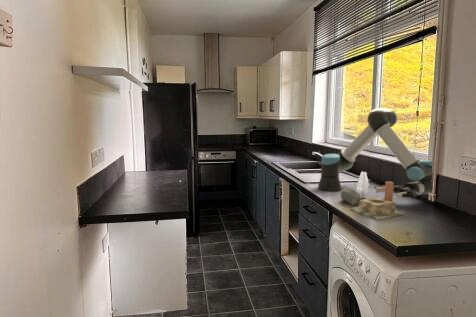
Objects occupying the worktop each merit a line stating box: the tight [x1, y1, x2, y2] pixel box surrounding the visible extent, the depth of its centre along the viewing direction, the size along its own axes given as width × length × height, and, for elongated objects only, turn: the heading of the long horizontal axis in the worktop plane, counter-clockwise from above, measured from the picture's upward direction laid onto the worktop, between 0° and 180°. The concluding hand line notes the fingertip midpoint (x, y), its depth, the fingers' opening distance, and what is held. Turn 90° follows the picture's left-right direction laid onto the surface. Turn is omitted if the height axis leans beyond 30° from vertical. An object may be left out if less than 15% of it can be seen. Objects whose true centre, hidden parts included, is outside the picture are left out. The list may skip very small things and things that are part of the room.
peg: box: [384, 181, 395, 202], centre depth 175 cm, size 4×4×14 cm
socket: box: [350, 196, 405, 221], centre depth 166 cm, size 18×18×6 cm
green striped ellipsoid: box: [340, 187, 361, 206], centre depth 185 cm, size 14×10×10 cm
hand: (386, 193), depth 173 cm, fingers open, 13 cm apart
